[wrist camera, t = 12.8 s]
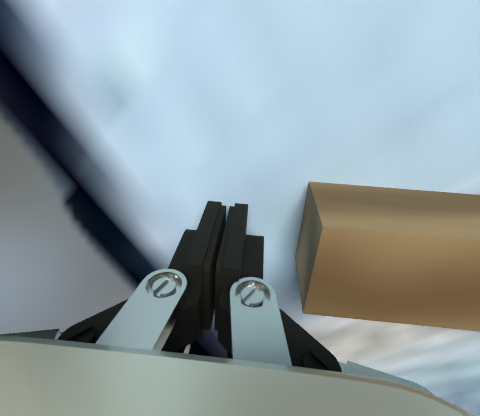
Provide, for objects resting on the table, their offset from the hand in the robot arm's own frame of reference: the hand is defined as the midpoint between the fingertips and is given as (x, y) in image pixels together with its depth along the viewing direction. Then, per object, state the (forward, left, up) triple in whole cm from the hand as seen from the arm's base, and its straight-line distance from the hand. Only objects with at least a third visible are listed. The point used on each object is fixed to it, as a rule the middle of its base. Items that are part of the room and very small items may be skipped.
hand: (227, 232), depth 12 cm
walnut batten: (0, +11, -1) cm, 11 cm away
